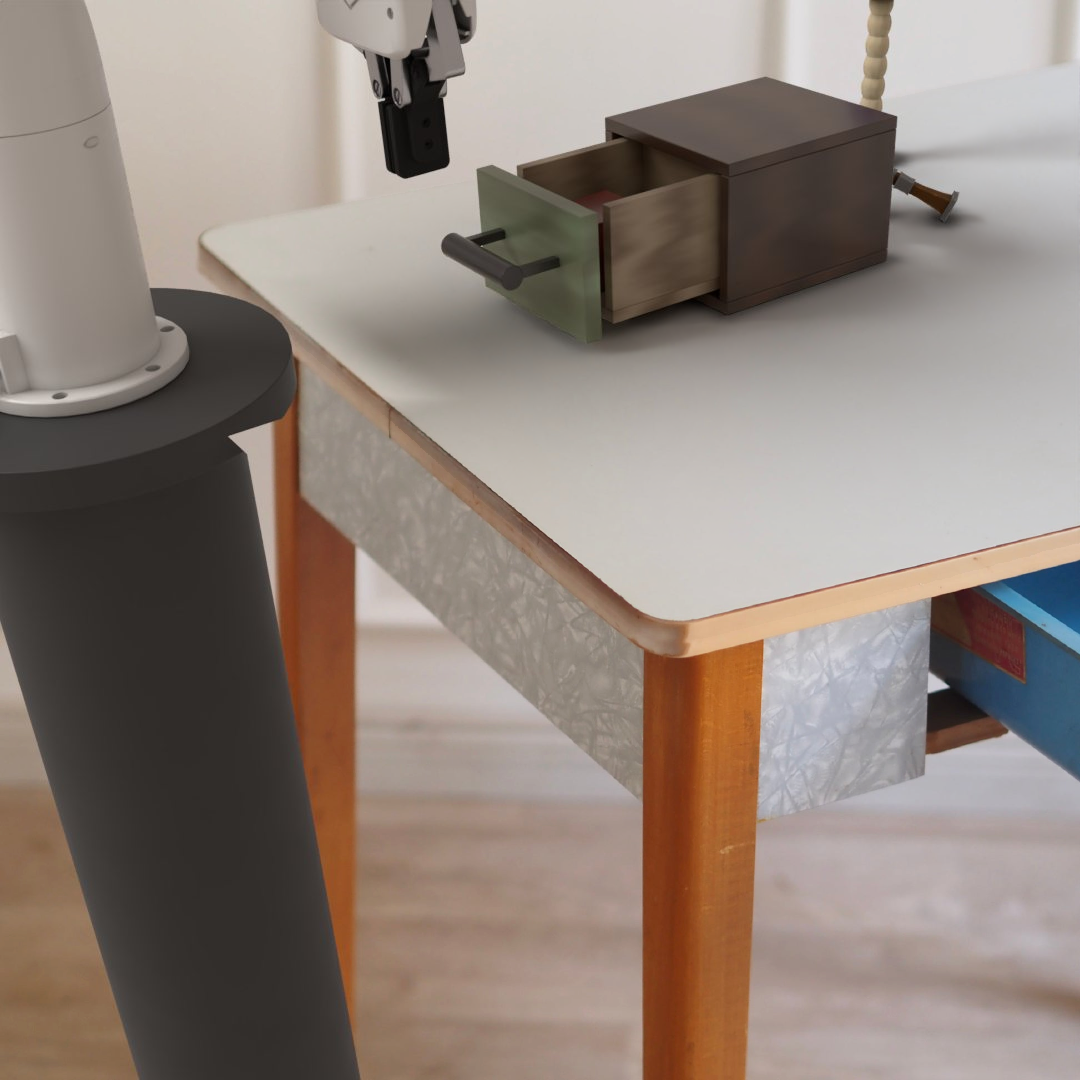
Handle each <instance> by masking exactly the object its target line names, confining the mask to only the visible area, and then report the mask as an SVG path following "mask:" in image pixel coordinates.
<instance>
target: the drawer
mask: <svg viewBox="0 0 1080 1080" xmlns="http://www.w3.org/2000/svg"><path fill="white" fill-rule="evenodd" d="M721 175H722V174H720V173H717V172H715V171H712V170H709V169H707V168H704V167H702V166H699V165H697V164H694V163H691V162H689V161H686V160H684V159H681V158H678V157H676V156H673V155H671V154H668V153H665V152H663V151H660V150H658V149H655V148H652V147H650V146H647V145H645V144H642V143H639V142H637V141H634V140H632V139H629V138H627V137H622V138H619V139H615V140H611V141H607V142H606V141H604V142H600V143H597V144H593V145H589V146H585V147H581V148H577V149H574V150H569V151H566V152H562V153H558V154H555V155H551V156H547V157H543V158H540V159H536V160H531V161H528V162H524V163H521V164H518V165H516V174H514V173H511V172H509V171H507V170H504V169H502V168H501V167H499V166H495V164H490V165H485V166H482V167H477V168H476V182H477V195H478V206H479V207H478V208H479V219H480V220H479V221H480V232H479V233H476V234H473V235H472V234H471V235H468V236H462V235H461V234H459V233H457V232H450V233H448V234H446V235H444V237H443V239H442V241H441V243H440V249H441V252H442V254H443V255H444V256H445V257H448V258H449V259H451V260H452V261H454V262H456V263H458V264H460V265H462V267H465V268H467V269H468V270H471V271H472V272H474V273H475V274H478V275H479V276H481V277H483V278H484V283H485V287H486V288H488V289H490V290H492V291H493V292H495V293H496V294H499V295H500V296H502V297H504V298H506V299H507V300H509V301H511V302H513V303H514V304H516V305H518V306H519V307H521V308H523V309H525V310H527V311H528V312H530V313H531V314H533V315H535V316H537V317H539V318H541V319H542V320H543V321H546V322H548V323H549V324H551V325H553V326H554V327H556V328H558V329H559V330H561V331H563V332H564V333H567V334H568V335H569V336H572V337H573V338H576V339H577V340H579V341H580V342H582V343H584V344H589V343H593V342H596V341H598V340H602V339H603V325H602V324H603V323H602V320H603V319H604V320H605V321H607V322H609V323H611V324H613V325H614V324H618V323H621V322H624V321H626V320H630V319H633V318H636V317H639V316H642V315H645V314H648V313H651V312H654V311H657V310H660V309H663V308H665V307H669V306H672V305H675V304H678V303H681V302H684V301H687V300H690V299H694V298H693V297H696V296H699V295H702V294H705V293H708V292H711V291H714V290H717V289H720V217H721ZM605 190H607V191H609V192H612V193H614V194H616V195H619V196H621V197H623V198H622V199H619V200H615V201H612V202H608V203H605V204H603V205H602V209H603V240H604V270H605V292H602V293H600V264H599V235H598V213H597V212H594V211H592V210H590V209H588V208H586V207H583V206H581V205H579V204H577V203H575V202H573V201H570V200H573V199H577V198H581V197H584V196H588V195H591V194H595V193H598V192H602V191H605Z"/></svg>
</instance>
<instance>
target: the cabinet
mask: <svg viewBox="0 0 1080 1080" xmlns="http://www.w3.org/2000/svg"><path fill="white" fill-rule="evenodd" d="M897 127H898V116H897V115H894V114H892V113H888V112H885V111H883V110H882V111H878V110H875V109H872V108H868V107H865V106H862V105H859V104H858V103H856V102H852V101H848V100H845V99H843V98H842V99H841V98H838V97H836V96H835V97H834V96H831V95H828V94H826V93H822V92H818V91H816V90H811V89H809V88H805V87H802V86H799V85H795V84H793V83H789V82H785V81H782V80H779V79H776V78H772V77H769V76H766V75H765V76H762V77H758V78H755V79H750V80H746V81H742V82H739V83H735V84H731V85H727V86H722V87H719V88H716V89H711V90H707V91H704V92H700V93H696V94H692V95H688V96H684V97H680V98H676V99H672V100H668V101H664V102H660V103H656V104H652V105H649V106H645V107H641V108H638V109H633V110H629V111H625V112H621V113H617V114H614V115H613V114H612V115H609V116H606V117H604V129H605V130H604V134H605V137H604V138H605V140H604V142H607V141H611V140H615V139H619V138H622V137H627V138H629V139H632V140H634V141H637V142H639V143H642V144H645V145H647V146H650V147H652V148H655V149H658V150H660V151H663V152H665V153H668V154H671V155H673V156H676V157H678V158H681V159H684V160H686V161H689V162H691V163H694V164H697V165H699V166H702V167H704V168H707V169H709V170H712V171H715V172H717V173H720V174H722V175H721V217H720V289H717V290H714V291H711V292H708V293H705V294H702V295H699V296H696V297H693V298H692V299H694V300H696V301H698V302H700V303H702V304H704V305H706V306H708V307H710V308H713V309H714V310H716V311H719V312H721V313H723V314H725V315H732V314H734V313H736V312H740V311H742V310H746V309H749V308H752V307H754V306H757V305H760V304H762V303H766V302H768V301H771V300H774V299H777V298H780V297H784V296H786V295H789V294H792V293H794V292H795V293H796V292H798V291H800V290H801V291H802V290H804V289H807V288H810V287H813V286H815V285H818V284H821V283H824V282H827V281H830V280H833V279H836V278H839V277H842V276H844V275H847V274H851V273H854V272H856V271H859V270H862V269H866V268H868V267H870V266H871V267H872V266H874V265H876V264H880V263H882V262H883V263H884V262H886V261H887V259H888V248H889V236H890V235H889V234H890V223H891V220H890V219H891V210H892V209H891V207H892V195H893V194H892V193H893V185H892V183H893V169H894V167H895V157H896V156H895V155H896V154H895V153H896V141H897Z"/></svg>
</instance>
